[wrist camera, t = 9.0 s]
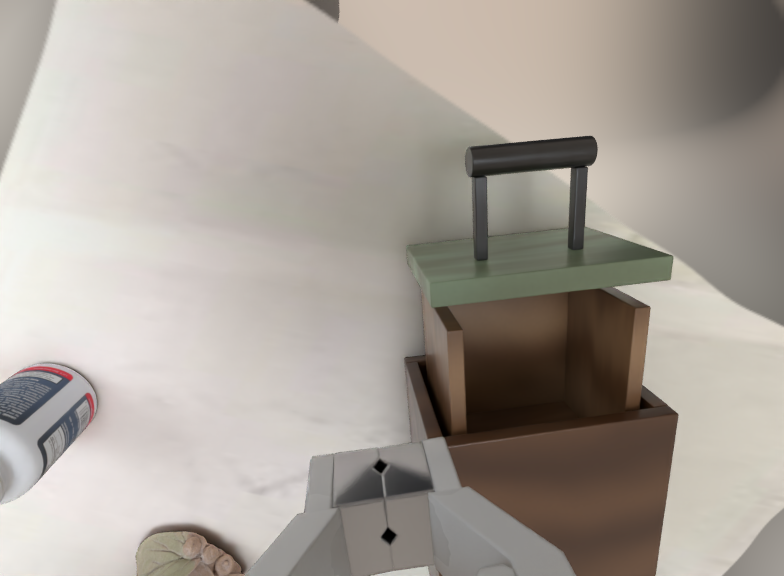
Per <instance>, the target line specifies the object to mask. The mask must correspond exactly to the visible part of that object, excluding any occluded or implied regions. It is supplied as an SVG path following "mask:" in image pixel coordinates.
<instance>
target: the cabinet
mask: <svg viewBox="0 0 784 576" xmlns="http://www.w3.org/2000/svg"><path fill="white" fill-rule="evenodd" d="M404 361H405V372H406V384H407V396H408V408H409V420H410V432H411V443H412V442H418V441H421V440H425V439H431V438H436V437H443V436H442V433H441V430H440V427H439V424H438V421H437V418H436V415H435V412H434V409H433V406H432V403H431V400H430V397H429V395H428V385H427V370H426V355H423V356H415V357H407V358H405V359H404ZM677 421H678V413H676V412H675V411H674V410H673V409H671V408H670V407H669V406H668V405H667V404H666V403H664V402H663V401H662V400H661V399H659V398H658V397H657V396H656V395H654V394H653V393H652V392H651V391H649V390H648V389H647V388H646V387H644V386H643V385H642V390H641V399H640V408H639V410H634V411H627V412H620V413H613V414H606V415H598V416H591V417H584V418H577V419H570V420H563V421H555V422H548V423H541V424H534V425H527V426H519V427H512V428H505V429H498V430H491V431H484V432H476V433H469V434H462V435H455V436H448V437H444V438H445V440H446V443H447V446H448V449H449V452H450V455H451V457H452V460H453V463H454V466H455V469H456V472H457V475H458V477H459V480H460V483H461V486H462V487H470V488H472V489H473V490H474V491H476V492H477V493H479V494H480V495H482V496H483V497H485V498H486V499H488V500H489V501H490V502H492V503H493V504H495V505H496V506H498V507H499V508H501V509H502V510H503V511H505V512H506V513H508V514H509V515H511V516H512V517H514V518H515V519H516V520H518V521H519V522H521V523H522V524H524V525H525V526H527V527H528V528H529V529H531V530H532V531H534V532H535V533H537V534H538V535H540V536H541V537H543V538H544V539H545V540H547V541H548V542H550V543H551V544H553V545H554V546H556V547H557V548H558V549H560V550H561V551H563V552H564V554H565V556H566V558H567V560H568V562H569V563H570V565H571V567H572V569H573V571H574V573H575V575H576V576H655V575H656V568H657V561H658V554H659V547H660V540H661V533H662V526H663V519H664V512H665V505H666V498H667V491H668V484H669V477H670V470H671V463H672V456H673V449H674V442H675V435H676V428H677ZM428 569H429V574H430V576H442V575H441V573H440V572H439V571H438V570H437V569H436V568H435V565H431V566H428Z"/></svg>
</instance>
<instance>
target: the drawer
mask: <svg viewBox="0 0 784 576" xmlns="http://www.w3.org/2000/svg"><path fill="white" fill-rule="evenodd" d="M596 157H597V142H596V140H595V138H594V137H592V136H583V137H572V138H560V139H550V140H538V141H527V142H516V143H505V144H494V145H483V146H472V147H468V148H467V150H466V154H465V167H466V172H467V175H468V176H469V177H472V203H473V239H463V240H454V241H445V242H435V243H426V244H416V245H407V246H406V251H407V263H408V265H409V267H410V269H411V271H412V273H413V275H414V276H415V278H416V280H417V282H418V284H419V286H420V287H421V295H422V310H423V325H424V340H425V355H426V370H427V385H428V395H429V397H430V400H431V403H432V406H433V409H434V412H435V415H436V418H437V421H438V424H439V427H440V430H441V433H442V436H443V437H448V436H455V435H462V434H469V433H476V432H484V431H491V430H498V429H505V428H512V427H519V426H527V425H534V424H541V423H548V422H555V421H563V420H570V419H577V418H584V417H591V416H598V415H606V414H613V413H620V412H627V411H634V410H639V408H640V399H641V390H642V380H643V371H644V362H645V353H646V344H647V335H648V326H649V317H650V306H648V305H646V304H644V303H642V302H640V301H638V300H636V299H634V298H632V297H631V296H629V295H627V294H625V293H623V292H621V291H619V290H617V289H615V288H613V287H614V286H623V285H632V284H640V283H649V282H657V281H666V280H670V279H671V272H672V264H673V256H672V255H669V254H666V253H663V252H660V251H657V250H654V249H651V248H648V247H645V246H642V245H639V244H636V243H633V242H630V241H627V240H624V239H621V238H618V237H615V236H612V235H609V234H606V233H603V232H600V231H597V230H594V229H591V228H588V227H585V210H586V191H587V172H588V168H587V167H584V166H590V165H592V164H593V163H594V162H595V160H596ZM563 168H571V181H570V204H569V227H568V228H567V229H557V230H548V231H539V232H529V233H520V234H510V235H501V236H492V237H488V222H487V177H486V176H490V175H501V174H511V173H521V172H532V171H542V170H553V169H563Z"/></svg>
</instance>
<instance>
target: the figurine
mask: <svg viewBox="0 0 784 576" xmlns="http://www.w3.org/2000/svg"><path fill="white" fill-rule="evenodd" d="M136 563H137V576H245V575H246V574H241V573H240V572H241V567H240V566H239V564H238V563H237V562H235V560H234V559H233V557H232V556H231V555H228V554H226V553H225V552H224V551H223V550H222V549H219V548H218V547H216V546H214V545H211V544H209V543H207V541H206V539H205V538H204V537H203V536H200V535H199V534H197V533H193V532H185V531H183V532H181V531H179V532H173V531H172V532H162V533H156V534H153V535H151V536H150V537H148V538H147V539H146V540H145V541H143V543H141V544H140V546H139V548H138V551H137V552H136Z"/></svg>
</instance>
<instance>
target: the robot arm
mask: <svg viewBox="0 0 784 576" xmlns="http://www.w3.org/2000/svg"><path fill="white" fill-rule="evenodd" d="M431 565H435V568H436V569H437V570H438V571H439V572H440V573H441V575H442V576H576V575H575V573H574V571H573V569H572V567H571V565H570V563H569V562H568V560H567V558H566V556H565V554H564V552H563V551H561V550H560V549H558V548H557V547H556V546H554V545H553V544H551V543H550V542H548V541H547V540H545V539H544V538H543V537H541V536H540V535H538V534H537V533H535V532H534V531H532V530H531V529H529V528H528V527H527V526H525V525H524V524H522V523H521V522H519V521H518V520H516V519H515V518H514V517H512V516H511V515H509V514H508V513H506V512H505V511H503V510H502V509H501V508H499V507H498V506H496V505H495V504H493V503H492V502H490V501H489V500H488V499H486V498H485V497H483V496H482V495H480V494H479V493H477V492H476V491H474V490H473V489H472V488H470V487H462V486H461V483H460V480H459V477H458V475H457V472H456V469H455V466H454V463H453V460H452V457H451V455H450V452H449V449H448V446H447V443H446V440H445V438H444V437H436V438H431V439H425V440H421V441H418V442H412V443H405V444H399V445H393V446H386V447H380V448H370V449H363V450H355V451H347V452H339V453H335V454H326V455H319V456H312V458H311V460H310V466H309V475H308V484H307V493H306V501H305V510H304V513H300V514H297V515H296V516H295V517H294V519H293V520H292V521H291V522H290V523H289V524H288V526H287V527H286V528H285V529H284V530H283V531H282V533H281V534H280V535H279V536H278V537H277V538H276V540H275V541H274V542H273V543H272V544H271V545H270V547H269V548H268V549H267V550H266V551H265V552H264V554H263V555H262V556H261V557H260V558H259V559H258V561H257V562H256V563H255V564H254V565H253V566H252V568H251V569H250V570H249V571H248V572H247V573H246V575H245V576H370V575H375V574H380V573H385V572H390V571H393V569H394V571H396V570H403V569H410V568H417V567H424V566H431Z"/></svg>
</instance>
